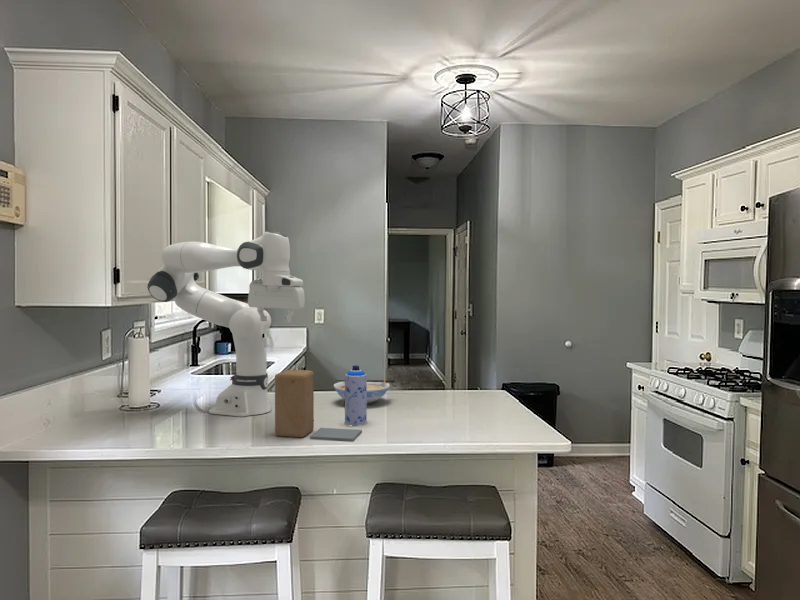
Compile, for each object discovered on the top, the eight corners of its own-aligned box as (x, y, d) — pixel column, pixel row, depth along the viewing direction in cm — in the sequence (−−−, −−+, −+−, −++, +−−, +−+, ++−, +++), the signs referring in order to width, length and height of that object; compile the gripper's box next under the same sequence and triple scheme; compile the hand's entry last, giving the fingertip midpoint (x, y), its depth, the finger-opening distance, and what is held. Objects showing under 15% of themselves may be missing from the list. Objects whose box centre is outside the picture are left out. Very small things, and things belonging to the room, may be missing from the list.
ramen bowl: (324, 408, 227) (324, 387, 226) (337, 396, 249) (337, 377, 249) (388, 409, 224) (388, 388, 223) (395, 398, 246) (395, 378, 246)
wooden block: (303, 438, 183) (303, 375, 182) (273, 436, 185) (273, 373, 184) (314, 430, 193) (314, 370, 192) (286, 428, 195) (286, 369, 194)
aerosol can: (352, 419, 208) (353, 363, 208) (371, 422, 204) (371, 365, 204) (339, 424, 201) (339, 366, 201) (358, 427, 198) (358, 368, 197)
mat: (309, 439, 182) (309, 436, 182) (320, 430, 193) (320, 427, 193) (353, 441, 180) (353, 438, 180) (361, 432, 191) (361, 429, 191)
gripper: (244, 279, 194) (243, 321, 195) (297, 280, 187) (296, 323, 187) (255, 279, 200) (254, 320, 201) (307, 280, 193) (306, 322, 193)
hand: (275, 322), depth 194 cm, fingers open, 8 cm apart
